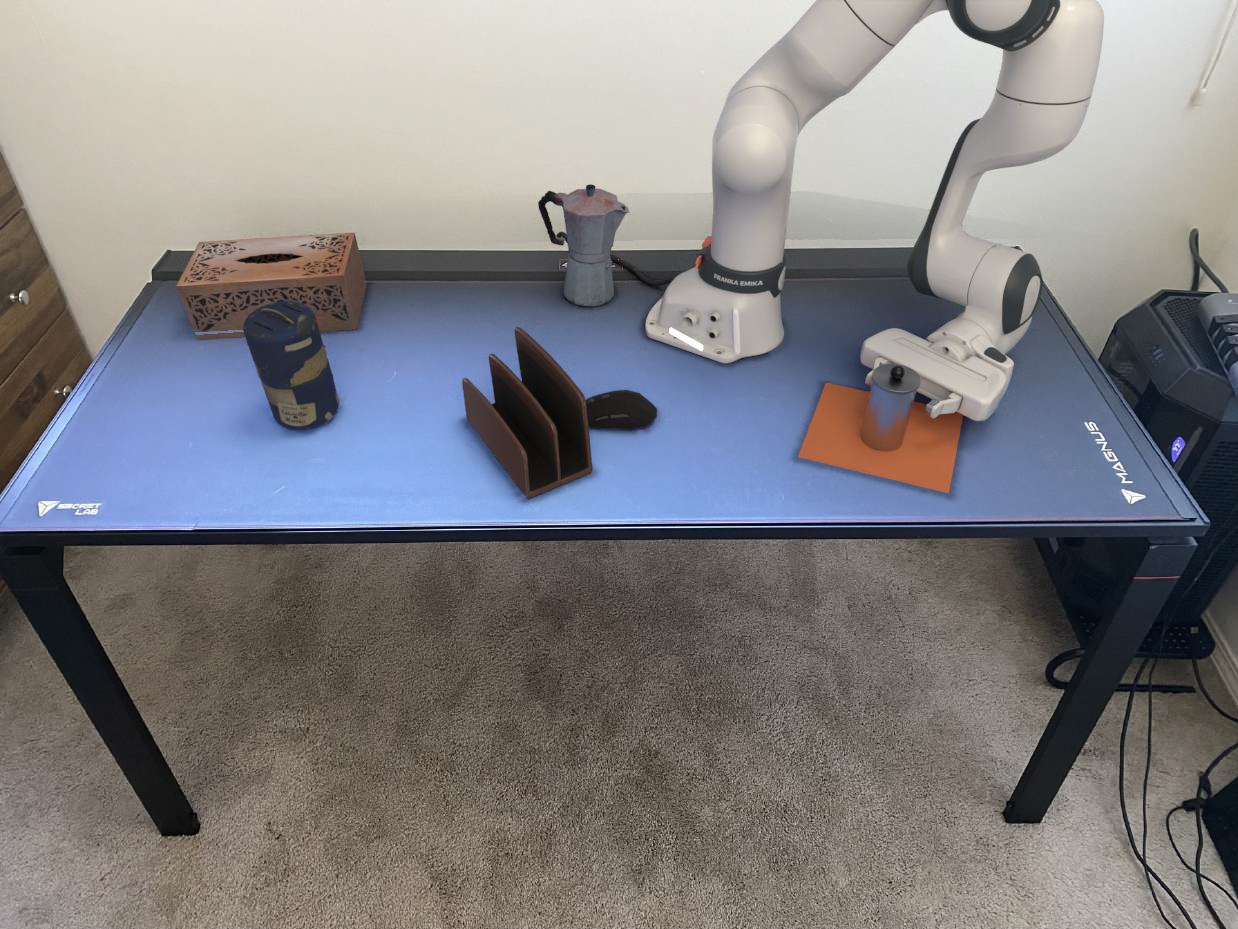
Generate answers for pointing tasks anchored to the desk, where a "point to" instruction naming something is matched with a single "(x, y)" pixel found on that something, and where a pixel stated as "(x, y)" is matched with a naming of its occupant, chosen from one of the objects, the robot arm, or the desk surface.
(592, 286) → the moka pot
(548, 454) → the letter holder
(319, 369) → the canister
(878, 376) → the pot
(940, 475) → the napkin
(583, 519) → the desk surface
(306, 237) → the tissue box cover
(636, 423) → the gaming mouse
